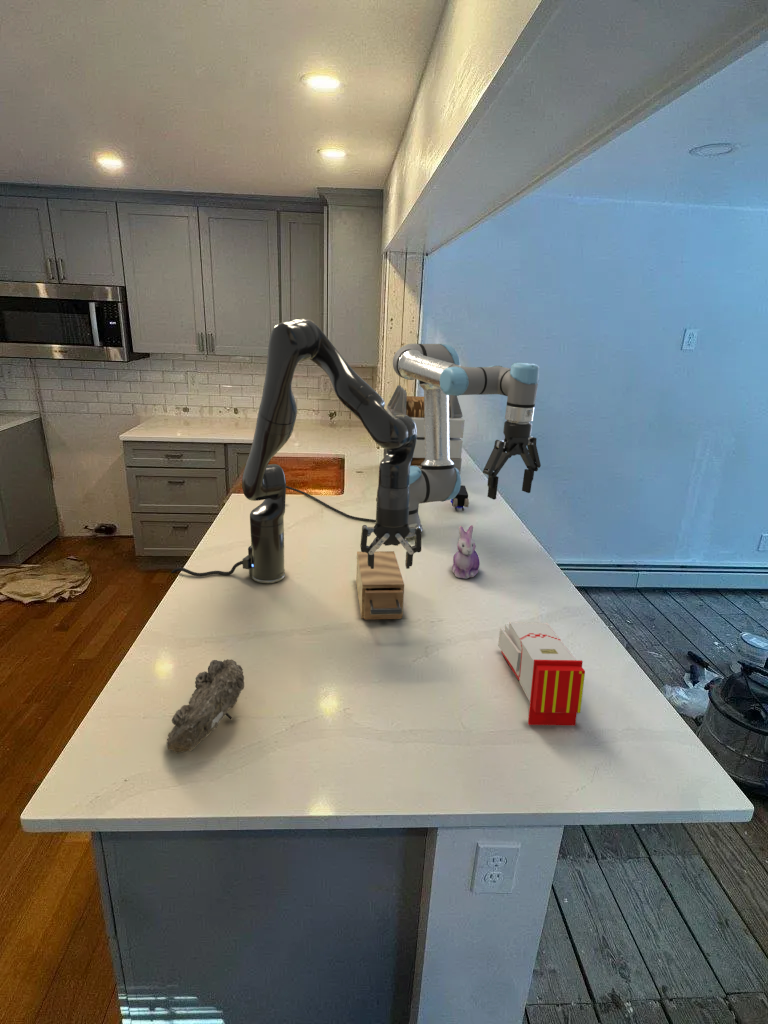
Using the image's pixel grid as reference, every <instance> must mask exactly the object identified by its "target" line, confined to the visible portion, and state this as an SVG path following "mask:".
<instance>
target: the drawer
mask: <svg viewBox="0 0 768 1024" xmlns="http://www.w3.org/2000/svg"><path fill="white" fill-rule="evenodd" d="M402 601H403V602H404V598H403V591H402V590H398V588H366V591H365V605H364V618H363V619H364V620H365V621H366V620H402V618H403V614H402ZM401 617H402V618H401Z"/></svg>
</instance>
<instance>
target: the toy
mask: <svg viewBox="0 0 768 1024" xmlns="http://www.w3.org/2000/svg"><path fill="white" fill-rule="evenodd" d="M498 636H499V637H498V642H497V646H498V647H499V649H500V653H501V654H502V656H503V657H504V659H505V661H506V663H507V664H508V665H509V667H510V669H511V671H512V672H513V674H514V676H515V677H516V679H517V680H518V681H519V684H520V686H521V688H522V690H523V692H524V694H525V696H526V698H527V700H528V701H529V710H528V719H527V724H528V726H573V727H575V726H576V724H577V723H576V722H577V715H578V714H581V710H582V709H581V708H582V701H583V692H584V683H585V674H586V670H585V669H584V668H583V662H584V661H583V660H581V659H580V660H578V659H576V657H575V656H574V655H573V654H572V653H571V651H570V650H569V648H568V647H567V645H565V644H564V642H563V641H562V640H561V638H560V637H559V636H558V635H557V633H556V631H555V630H554V629H553V628H552V627H551V626H550V624H549V622H527V621H526V622H525V621H523V622H521V621H509V624H504V628H503V627H500V628H499V634H498Z"/></svg>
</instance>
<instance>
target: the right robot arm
mask: <svg viewBox="0 0 768 1024" xmlns="http://www.w3.org/2000/svg"><path fill="white" fill-rule="evenodd" d="M392 368H393V370H394V373H395V374H396V375H397V376H398V377H400V378H402V379H405V380H408V381H414V380H417V381H418V382H419V384H418V385H419V387H420V388H421V389H422V390H423V397H424V422H425V460H424V461H423V462H422V463H421V466H410V481H409V491H410V500H409V517H408V526H409V527H415V526H416V525H419V526H420V528H421V536H422V535H423V525H422V524H421V518H420V515H419V507H420V506H419V505H420V504H427V503H435V502H436V503H437V502H446V501H451V499H453V498H455V497H456V495H457V494H458V492H459V490H460V487H461V485H462V477H461V474H460V475H459V471H458V469H456V468H455V467H454V463H453V462H452V461H451V460H450V448H449V395H454V396H457V397H459V396H473V395H474V396H475V395H477V396H478V395H481V396H483V395H484V396H485V395H501V396H505V397H506V398H507V399H506V407H505V414H504V419H505V421H504V422H503V430H502V431H503V432H502V433H503V435H504V439H503V440H499V439H495V440H494V445H493V449H492V451H491V453H490V455H489V457H488V459H487V462H486V464H485V466H484V468H483V470H482V473H483V475H487V483H486V484H487V489H488V490H487V495H486V496H487V498H489V499H492V500H497V493H498V486H499V479H500V478H499V476H497V475H499V473H500V471H501V470H502V468H503V467H504V466H505V464H506V463H507V462H508V461H509V459H511V458H512V457H514V456H520V458H521V459H522V462H523V463H524V465H525V467H526V468H525V469H524V470H523V471H524V472H523V478H522V479H523V480H522V485H521V486H522V487H521V491H522V492H524V493H526V494H531V491H532V484H533V481H534V477H535V472H538V471H539V469H540V468H541V466H542V465H541V460H540V455H539V451H538V447H537V437H535V436H532V429H533V423H532V422H533V421H534V414H535V406H536V400H537V393H538V387H539V382H540V366H539V365H538V364H536V363H530V362H529V363H528V362H514V363H512V364H511V366H510V368H509V367H505V366H502V365H489V366H476V367H475V366H463V365H461V361H460V356H459V353H458V351H457V350H456V349H455V347H454V346H452V345H451V344H443V343H408V344H405V345H403V346H401V347H399V349H397V350H396V352H395V353H394V355H393V358H392ZM286 489H288V490H291V491H294V492H296V493H299V494H301V495H304V496H306V497H309V498H311V499H312V500H314V501H316V502H318V503H320V504H321V505H322V506H324V507H326V508H328V509H330V510H332V511H334V512H336V513H338V514H340V515H342V516H344V517H347V518H349V519H352V520H357V521H363V522H370V523H376V519H373V518H366V517H365V518H364V517H359V516H358V517H357V516H354V515H349V514H348V513H345V512H343V511H341V510H339V509H337V508H335V507H333V506H332V505H329V504H328V503H326V502H324V501H322V500H320V499H318V498H316V497H315V496H313V495H311V494H309V493H307V492H305V491H302V490H300V489H297V488H294V487H292V486H288V485H286ZM406 540H407V541H410V540H415V536H413V535H412V533H411V532H410V533H409V534H408V535H407V537H406Z"/></svg>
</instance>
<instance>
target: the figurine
mask: <svg viewBox="0 0 768 1024" xmlns="http://www.w3.org/2000/svg"><path fill="white" fill-rule="evenodd" d="M458 533H459V535H458V536H459V537H458V538H459V539H458V541H457V544H456V547H457V548H456V549H457V551H456V553H455V554H454V555H453V561H452V563H453V565H452V568H451V571H452V573H453V574H454V576H455V577H456V578H458V579H465V580H466V579H469V578H474V577H476V576H477V574H478V573H479V570H480V569H479V568H480V564H481V563H480V562H481V561H480V557H479V554H478V552H477V551H476V549H477V548H476V546H477V545H476V542H475V540H474V537H473V533H474V525H473V524H471V525H469V527H468V529H467V530H465V529H464V527H463V526H462V525H460V526H459V527H458Z"/></svg>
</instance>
